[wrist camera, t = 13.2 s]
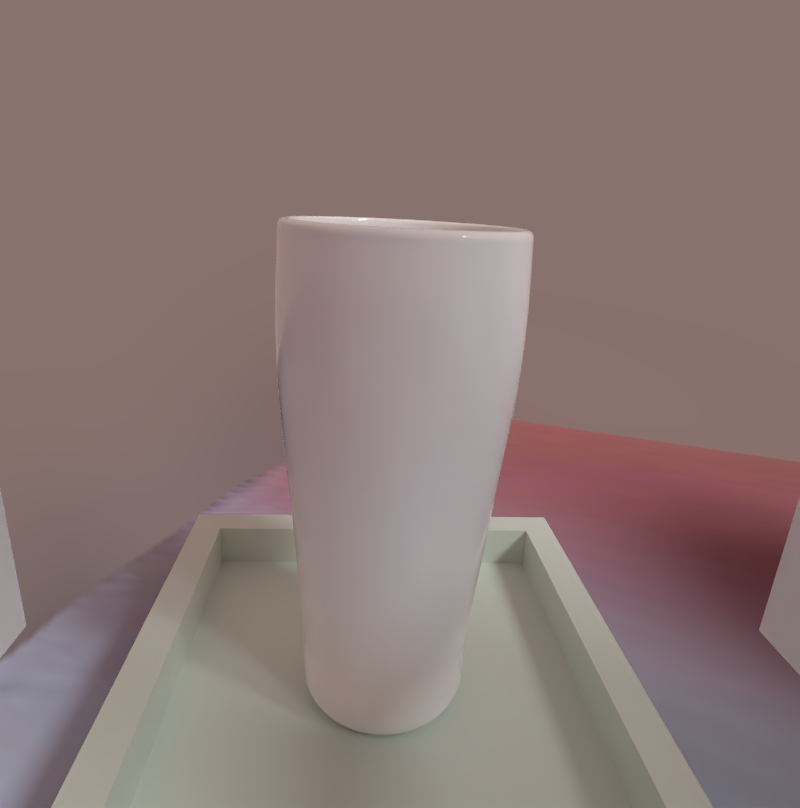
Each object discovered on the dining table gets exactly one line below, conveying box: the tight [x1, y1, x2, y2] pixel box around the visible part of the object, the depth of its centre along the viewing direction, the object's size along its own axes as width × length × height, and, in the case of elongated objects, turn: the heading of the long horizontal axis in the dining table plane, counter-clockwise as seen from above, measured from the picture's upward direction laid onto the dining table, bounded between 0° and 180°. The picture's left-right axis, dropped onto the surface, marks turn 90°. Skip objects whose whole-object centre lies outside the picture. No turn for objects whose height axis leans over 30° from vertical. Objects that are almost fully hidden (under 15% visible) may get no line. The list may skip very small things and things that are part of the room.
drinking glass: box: [275, 216, 534, 735], centre depth 18 cm, size 7×7×15 cm
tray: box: [51, 514, 713, 808], centre depth 20 cm, size 16×16×2 cm
